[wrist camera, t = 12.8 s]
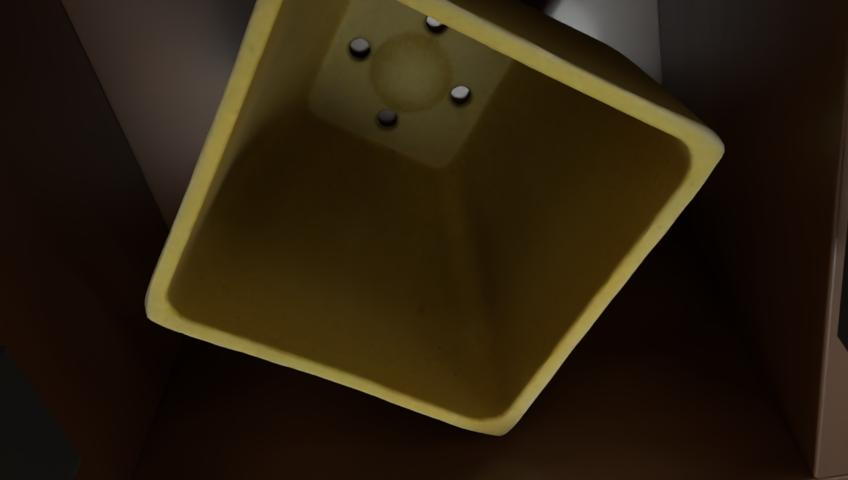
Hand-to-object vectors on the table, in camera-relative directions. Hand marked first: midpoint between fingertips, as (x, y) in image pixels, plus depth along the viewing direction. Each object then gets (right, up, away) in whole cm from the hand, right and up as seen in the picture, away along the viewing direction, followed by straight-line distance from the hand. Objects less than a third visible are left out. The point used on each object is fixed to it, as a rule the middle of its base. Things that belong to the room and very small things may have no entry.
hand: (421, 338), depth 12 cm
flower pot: (0, +7, +11) cm, 12 cm away
